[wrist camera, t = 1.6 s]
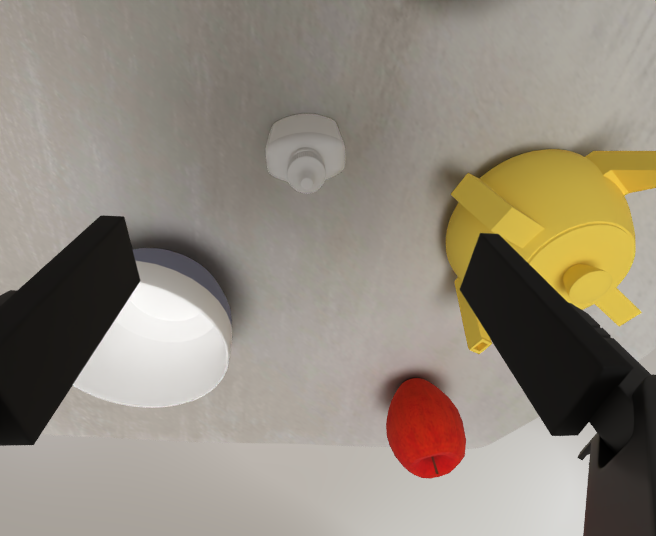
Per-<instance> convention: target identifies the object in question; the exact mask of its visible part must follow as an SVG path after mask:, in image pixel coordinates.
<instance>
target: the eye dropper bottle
mask: <svg viewBox="0 0 656 536" xmlns="http://www.w3.org/2000/svg"><path fill="white" fill-rule="evenodd" d="M265 154H266V163H267V169H268V171H269V173H270V174H271V175H272V176H273V177H275V178H278V179H280V180H283V181H286V182H289V183H290V185H291V186H292V188H294V189H295V190H297V191H298V192H300V193H304V194H305V193H306V194H307V193H308V194H309V193H313V192H316V191H318V190H319V188H321V187H322V185H323V184H324V182H325V180H327V179H330V178H332V177H334V176H336V175H338V174H339V173H341V172H342V171H343V170H344V167H345V145H344V142H343V139H342V136H341V133H340V131H339V128H338V126H337V123H336V122H335V121H334V120H333V119H330V118H328V117H325V116H322V115H317V114H308V113H304V114H296V115H291V116H288V117H285V118H283V119H281V120H279V121H277V122H275V123H274V124H273V125H272V127H271V131H270V134H269V137H268V141H267V145H266V150H265Z"/></svg>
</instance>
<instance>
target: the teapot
mask: <svg viewBox="0 0 656 536" xmlns="http://www.w3.org/2000/svg"><path fill="white" fill-rule="evenodd" d="M652 188H656V151H593V152H591V153H590V154H588V155H587V156H585V157H584V156H582V155H580V154H577V153H574V152H571V151H567V150H560V149H546V150H538V151H532V152H528V153H524V154H520V155H518V156H515V157H513V158H510V159H508V160H506V161H504V162H502V163H500V164H499V165H497V166H495V167H494V168H492V169H491V170H489V171H488V172H487V173H485V174H484V175H483V176H482V177H480V178H477V177H475V176H473V175H471V174H469V173H468V174H467V175H466V176H465V177H464V178H463V180H462V181H461V182H460V183H459V185H458V186H457V187H456V188H455V189H454V191H453V192H452V193H451V194H450V195H452V196H453V197H454V198H455V199H456V200H457V201H458V202H459V203H458V204H457V206H456V208H455V210H454V212H453V213H452V216H451V218H450V221H449V224H448V228H447V232H446V253H447V257H448V260H449V263H450V265H451V267H452V269H453V270H454V272H455V273H456V274H457V276H458V277H457V279H456V280H455V282H454V283H455V288H456V293H457V297H458V302H459V307H460V311H461V316H462V321H463V326H464V330H465V335H466V340H467V344H468V348H469V350H471V351H473V352H475V353H478V354H480V353H481V352H483V351H484V350H485V349H486V348H487V347H489V346H490V345H491V344H492V342H491V339H490V337H489V336H488V334H487V332H486V331H485V329H484V328H483V326H482V325H481V323H480V321H479V320H478V318H477V317H476V315H475V313H474V312H473V310H472V309H471V307H470V306H469V304H468V302H467V301H466V299H465V298H464V296H463V294H462V293H461V291H460V287H461V284H462V281H463V279H464V276H465V273H466V270H467V267H468V265H469V262H470V259H471V256H472V254H473V251H474V248H475V245H476V243H477V240H478V237H479V234H480V233H492V234H499V235H500V236H501V237H502V238H503V239H504V240H505V241H506V242H507V243H508V244H509V245H510V246H511V247H512V248H513V249H514V250H515V251H516V252H518V253H519V254H520V255H521V256H522V257H523V258H524V259H525V260H526V261H527V262H528V263H529V264H530V265H531V266H532V267H533V268H534V269H535V270H536V271H537V272H538V273H539V274H540V275H541V276H542V277H543V278H544V279H545V280H546V281H547V282H548V283H549V284H550V285H551V286H552V287H553V288H554V289H555V290H556V291H557V292H558V293H559V294H560V295H561V296H562V297H563V298H564V299H565V300H566V301H567V302H568V303H572V304H573V305H575V306H576V307H578V308H580V309H581V310H583V309H585V308H587V307H589V306H591V305H593V304H595V305H596V306H597V307H599V308H600V309H601V310H602V311H603V312H604V313H605V314H606V315H607V316H608V317H609V318H610V319H612V320H613V321H614V322H615V323H616V324H617V325H618V326H621V325H623V324H624V323H626V322H627V321H629V320H631V319H632V318H634V317H635V316H637V315H639V314H640V313H642V312H641V311H640V310H639V309H638V308H637V307H636V306H635V305H634V304H633V303H632V302H631V301H630V300H629V299H627V298H626V297H625V296H624V295H623V294H622V293H621V292H620V291H619V290H618V289H617V288H616V287H617V286H618V285H619V284H620V283H621V282H622V280H623V279H624V278H625V276H626V275H627V273H628V271H629V270H630V268H631V266H632V263H633V260H634V257H635V232H634V226H633V222H632V217H631V213H630V209H629V206H628V203H627V201H626V199H625V197H624V196H625V195H627V194H628V193H632V192H637V191H642V190H647V189H652Z"/></svg>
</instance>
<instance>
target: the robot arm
mask: <svg viewBox="0 0 656 536" xmlns="http://www.w3.org/2000/svg"><path fill="white" fill-rule="evenodd" d="M139 282H140V277H139V273H138V269H137V265H136V261H135V257H134V253H133V249H132V246H131V242H130V238H129V234H128V230H127V226H126V222H125V218H124V217H121V216H100V217H99V218H98V219H97V220H95V221H94V222H93V223H92V224H91V225H90V226H89V227H88V228H87V229H85V230H84V231H83V232H82V233H81V234H80V235H79V236H78V237H77V238H75V239H74V240H73V241H72V242H71V243H70V244H69V245H68V246H67V247H65V248H64V249H63V250H62V251H61V252H60V253H59V254H58V255H57V256H55V257H54V258H53V259H52V260H51V261H50V262H49V263H48V264H47V265H45V266H44V267H43V268H42V269H41V270H40V271H39V272H38V273H37V274H35V275H34V276H33V277H32V278H31V279H30V280H29V281H28V282H27V283H25V284H24V285H23V286H22V287H21V288H20V289H19V290H18V291H13V290H10V291H8V292H6V293H4V294H2V295H0V445H34V443H35V442H36V440H37V439H38V437H39V436H40V434H41V433H42V431H43V430H44V428H45V427H46V425H47V423H48V422H49V420H50V419H51V417H52V416H53V414H54V413H55V411H56V410H57V408H58V407H59V405H60V404H61V402H62V400H63V399H64V397H65V396H66V394H67V393H68V391H69V390H70V388H71V387H72V385H73V384H74V382H75V381H76V379H77V377H78V376H79V374H80V373H81V371H82V370H83V368H84V367H85V365H86V364H87V362H88V361H89V359H90V358H91V356H92V354H93V353H94V351H95V350H96V348H97V347H98V345H99V344H100V342H101V341H102V339H103V338H104V336H105V334H106V333H107V331H108V330H109V328H110V327H111V325H112V324H113V322H114V321H115V319H116V318H117V316H118V315H119V313H120V311H121V310H122V308H123V307H124V305H125V304H126V302H127V301H128V299H129V298H130V296H131V295H132V293H133V292H134V290H135V288H136V287H137V285H138V284H139ZM460 291H461V293H462V294H463V296H464V298H465V299H466V301H467V302H468V304H469V306H470V307H471V309H472V310H473V312H474V313H475V315H476V317H477V318H478V320H479V321H480V323H481V325H482V326H483V328H484V329H485V331H486V332H487V334H488V336H489V337H490V339H491V340H492V342H493V344H494V345H495V347H496V348H497V350H498V351H499V353H500V355H501V356H502V358H503V359H504V361H505V362H506V364H507V366H508V367H509V369H510V370H511V372H512V374H513V375H514V377H515V378H516V380H517V381H518V383H519V385H520V386H521V388H522V389H523V391H524V393H525V394H526V396H527V397H528V399H529V400H530V402H531V404H532V405H533V407H534V408H535V410H536V412H537V413H538V415H539V416H540V418H541V419H542V421H543V422H544V424H545V426H546V427H547V429H548V430H549V432H550V434H551V435H552V436H569V435H578V434H579V433H580V432H581V431H582V429H583V428H584V427H585V426H586V425H587V423H588V422H590V423H591V425H592V426H593V427H594V429H595V430H596V432H597V434H596V435H595V436H594V437H593V438H592V439H591V440H590V442H589V443H588V444H587V445H586V446H585V447H584V448H583V450H582V451H581V452H580V454H579V456H578V458H579V459H581V460H583V459H584V458H585V456H586V455H588V454H590V462H589V475H588V487H587V498H586V510H585V522H584V535H583V536H656V375H651V374H650V373H649V372H648V371H647V370H646V369H645V368H644V367H643V366H641V364H639V362H637V361H636V360H635V359H634V358H633V357H632V356H631V355H630V354H629V353H628V352H627V351H626V350H625V349H624V348H623V347H622V346H621V345H620V344H619V343H618V342H617V341H616V340H615V339H614V338H610V335H609V334H608V333H607V332H606V331H605V330H604V329H603V328H600V325H599V324H598V323H597V322H596V321H595V320H594V319H593V318H592V317H591V316H590V315H589V314H587V313H586V312H584V311H583V310H581V309H580V308H578V307H576V306H575V305H573V304H572V303H568V302H567V301H566V300H565V299H564V298H563V297H562V296H561V295H560V294H559V293H558V292H557V291H556V290H555V289H554V288H553V287H552V286H551V285H550V284H549V283H548V282H547V281H546V280H545V279H544V278H543V277H542V276H541V275H540V274H539V273H538V272H537V271H536V270H535V269H534V268H533V267H532V266H531V265H530V264H529V263H528V262H527V261H526V260H525V259H524V258H523V257H522V256H521V255H520V254H519V253H518V252H516V251H515V250H514V249H513V248H512V247H511V246H510V245H509V244H508V243H507V242H506V241H505V240H504V239H503V238H502V237H501V236H500V235H499V234H492V233H480V234H479V237H478V240H477V243H476V245H475V248H474V251H473V254H472V256H471V259H470V262H469V265H468V267H467V270H466V273H465V276H464V279H463V281H462V284H461V287H460Z"/></svg>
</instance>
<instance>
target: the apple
mask: <svg viewBox="0 0 656 536" xmlns="http://www.w3.org/2000/svg"><path fill="white" fill-rule="evenodd" d="M386 429H387V438H388V441H389V445H390V447H391V449H392V451H393V452H394V455H395V457H396V458H397V459H398V460H399V462H400V463H401V464H402V465H403V466H404V467H405V468H406V469H407V470H408V471H409V472H411V473H412V474H414V475H416V476H419V477H421V478H434V477H439V476H442V475H445V474H448V473H450V472H451V471H452V470H453V469H454V468H455V467H456V466H457V465H458V464H459V463H460V462H461V460H462V459H463V457H464V456H465V445H466V438H465V432H464V427H463V422H462V419H461V417H460V414H459V412H458V409H457V408H456V407H455V405H454V404H453V403H452V401H451V400H450V399H449V397H447V396H446V395H445V394H444V393H443V392H442V391H441V390H440V389H439V388H437V387H436V386H435V385H433V384H432V383H430V382H428V381H427V380H424V379H421V378H412V379H409V380H407V381H405V382H403V383H402V384H401V385H400V386H399V388H398V389H397V391H396V393H395V395H394V396H393V399H392V401H391V404H390V407H389V411H388V416H387V423H386Z"/></svg>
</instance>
